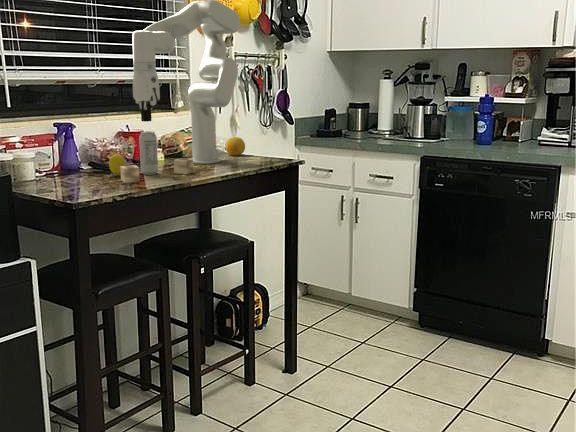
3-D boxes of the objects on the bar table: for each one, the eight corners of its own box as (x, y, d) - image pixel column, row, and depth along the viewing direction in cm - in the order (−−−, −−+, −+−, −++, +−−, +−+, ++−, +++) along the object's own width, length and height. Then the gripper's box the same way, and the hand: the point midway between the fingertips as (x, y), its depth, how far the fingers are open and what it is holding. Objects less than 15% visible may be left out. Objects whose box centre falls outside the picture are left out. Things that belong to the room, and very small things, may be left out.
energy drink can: (154, 171, 230) (152, 130, 226) (160, 174, 225) (159, 132, 221) (138, 173, 226) (136, 131, 223) (144, 175, 221) (142, 133, 218)
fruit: (221, 155, 271) (221, 137, 269) (234, 153, 277) (234, 135, 275) (236, 157, 265) (235, 138, 263) (249, 155, 271) (249, 137, 269)
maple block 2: (182, 171, 232) (181, 157, 230) (193, 172, 229) (193, 158, 228) (174, 173, 227) (173, 159, 226) (185, 174, 225) (184, 160, 224)
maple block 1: (135, 179, 215) (134, 164, 214) (139, 182, 211) (138, 166, 209) (121, 180, 213) (120, 165, 211) (124, 183, 208) (123, 167, 207)
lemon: (120, 173, 225) (119, 151, 223) (128, 175, 221) (127, 153, 220) (106, 175, 222) (105, 152, 220) (114, 177, 218) (113, 154, 216)
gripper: (166, 68, 214) (168, 122, 219) (140, 67, 224) (142, 119, 228) (148, 67, 209) (150, 123, 213) (122, 67, 219) (125, 120, 223)
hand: (146, 121), depth 221 cm, fingers closed
